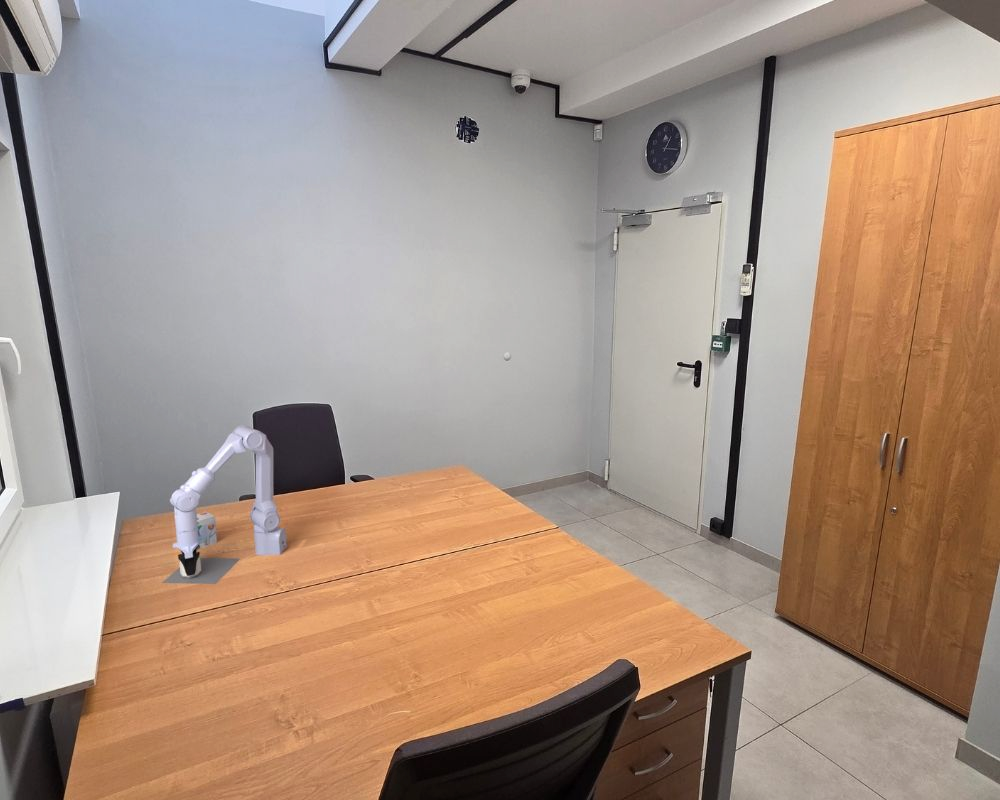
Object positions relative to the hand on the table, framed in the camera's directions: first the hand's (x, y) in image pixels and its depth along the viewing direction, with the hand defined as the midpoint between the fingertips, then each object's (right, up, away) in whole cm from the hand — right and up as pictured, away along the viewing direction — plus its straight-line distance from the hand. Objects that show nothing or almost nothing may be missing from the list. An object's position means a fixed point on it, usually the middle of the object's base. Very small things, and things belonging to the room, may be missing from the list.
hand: (190, 570), depth 168 cm
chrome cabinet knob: (0, -1, 0) cm, 2 cm away
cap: (0, -1, 0) cm, 1 cm away
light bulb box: (-9, +1, +20) cm, 22 cm away
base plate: (+2, -2, +3) cm, 4 cm away
